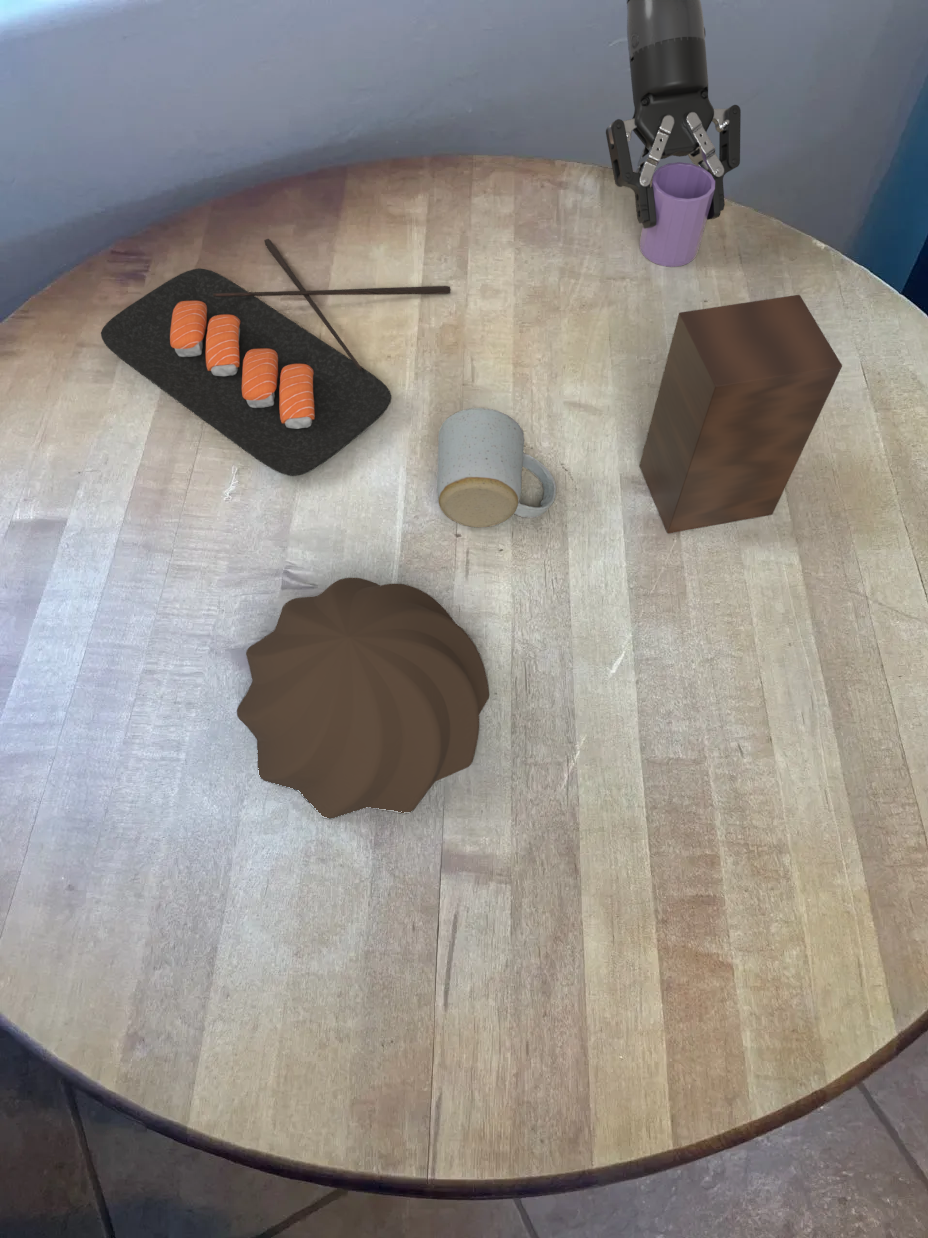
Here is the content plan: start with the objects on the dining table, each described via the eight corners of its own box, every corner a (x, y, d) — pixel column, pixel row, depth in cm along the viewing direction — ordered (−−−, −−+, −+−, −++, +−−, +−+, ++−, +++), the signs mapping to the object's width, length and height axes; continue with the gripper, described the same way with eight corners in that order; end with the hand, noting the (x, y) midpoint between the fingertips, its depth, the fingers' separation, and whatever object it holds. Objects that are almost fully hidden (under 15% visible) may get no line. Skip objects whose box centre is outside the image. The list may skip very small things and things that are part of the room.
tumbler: (686, 225, 107) (702, 158, 101) (706, 262, 104) (724, 196, 97) (631, 232, 107) (644, 166, 100) (650, 270, 103) (664, 204, 97)
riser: (740, 448, 90) (799, 293, 75) (772, 515, 86) (843, 365, 71) (638, 465, 89) (678, 311, 74) (667, 534, 85) (715, 386, 70)
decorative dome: (199, 784, 72) (166, 727, 64) (293, 573, 82) (275, 500, 74) (446, 852, 70) (447, 803, 61) (512, 627, 80) (520, 557, 71)
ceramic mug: (435, 532, 85) (436, 476, 78) (438, 461, 89) (439, 402, 82) (555, 536, 85) (566, 480, 78) (552, 465, 89) (562, 406, 83)
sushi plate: (93, 347, 96) (80, 316, 93) (308, 205, 108) (303, 174, 105) (296, 498, 87) (290, 470, 83) (507, 324, 99) (509, 294, 95)
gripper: (718, 52, 101) (730, 220, 105) (587, 67, 99) (605, 237, 104) (750, 25, 94) (762, 207, 98) (610, 41, 92) (628, 225, 96)
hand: (681, 222), depth 101 cm, fingers closed on tumbler, 6 cm apart
